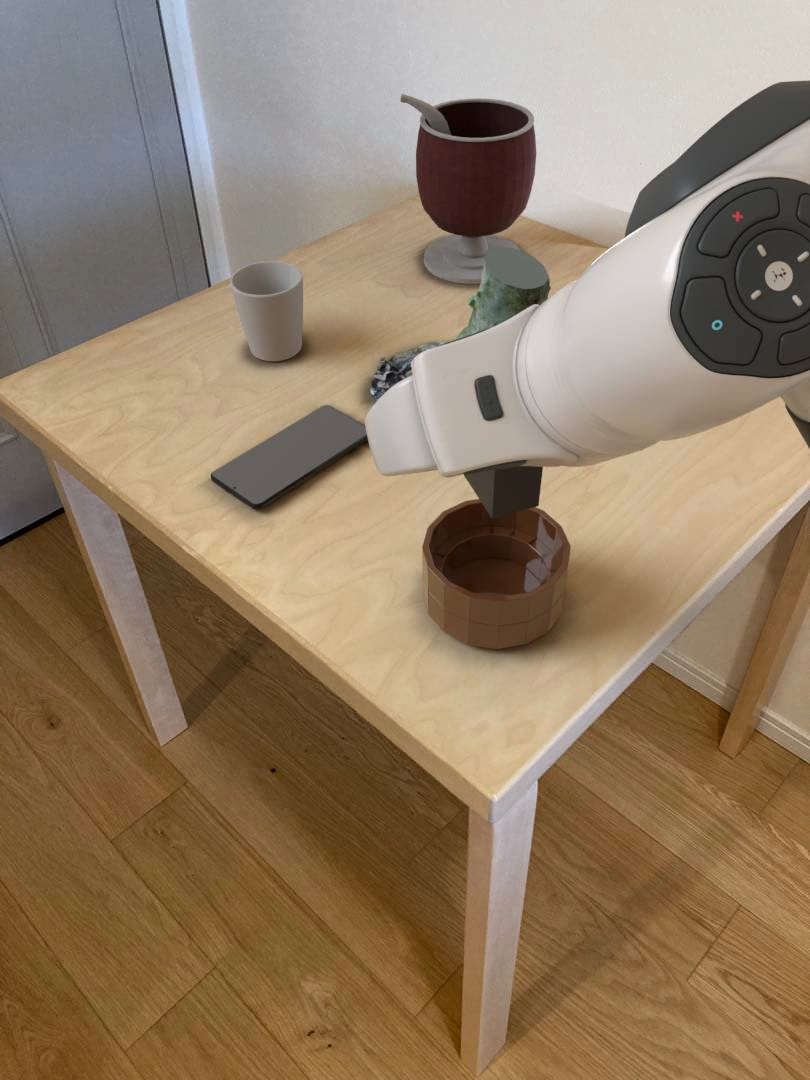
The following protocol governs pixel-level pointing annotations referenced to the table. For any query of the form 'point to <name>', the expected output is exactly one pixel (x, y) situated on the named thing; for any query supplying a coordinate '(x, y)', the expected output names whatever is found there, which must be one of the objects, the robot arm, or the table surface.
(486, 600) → the bowl
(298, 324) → the cup
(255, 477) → the smartphone
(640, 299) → the robot arm
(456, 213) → the mate gourd
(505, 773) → the table surface
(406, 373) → the tree stump
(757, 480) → the table surface
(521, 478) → the case
